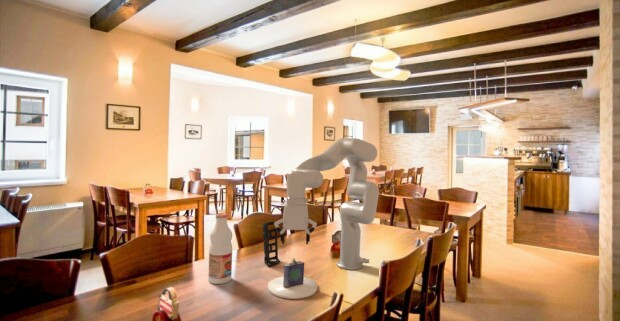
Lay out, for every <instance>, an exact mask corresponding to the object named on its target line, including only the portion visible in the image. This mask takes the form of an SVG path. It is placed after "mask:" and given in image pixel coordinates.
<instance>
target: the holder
mask: <svg viewBox="0 0 620 321" xmlns="http://www.w3.org/2000/svg"><path fill="white" fill-rule="evenodd" d="M274 222H276V221H268V222H264V223H262V240H263V252H264V257H263V258H264V259H263V260H264V261H263V262H264V264H265V265H266V266H267V267H268V268H271V267H273V266H277V265H279V264H280V263H281V260H280V259H279V254H278V253H279V252H278V250H279V248H278V247H279V245H278V230H277V229H276V227H275V225H274ZM269 226H274V227H273V228H272V229H269ZM273 233H274V235H272V234H273ZM273 239H274V242H270V240H273ZM273 246H274V247H275V248H274V249H273ZM271 253H275V254H274V256H270V254H271Z"/></svg>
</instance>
